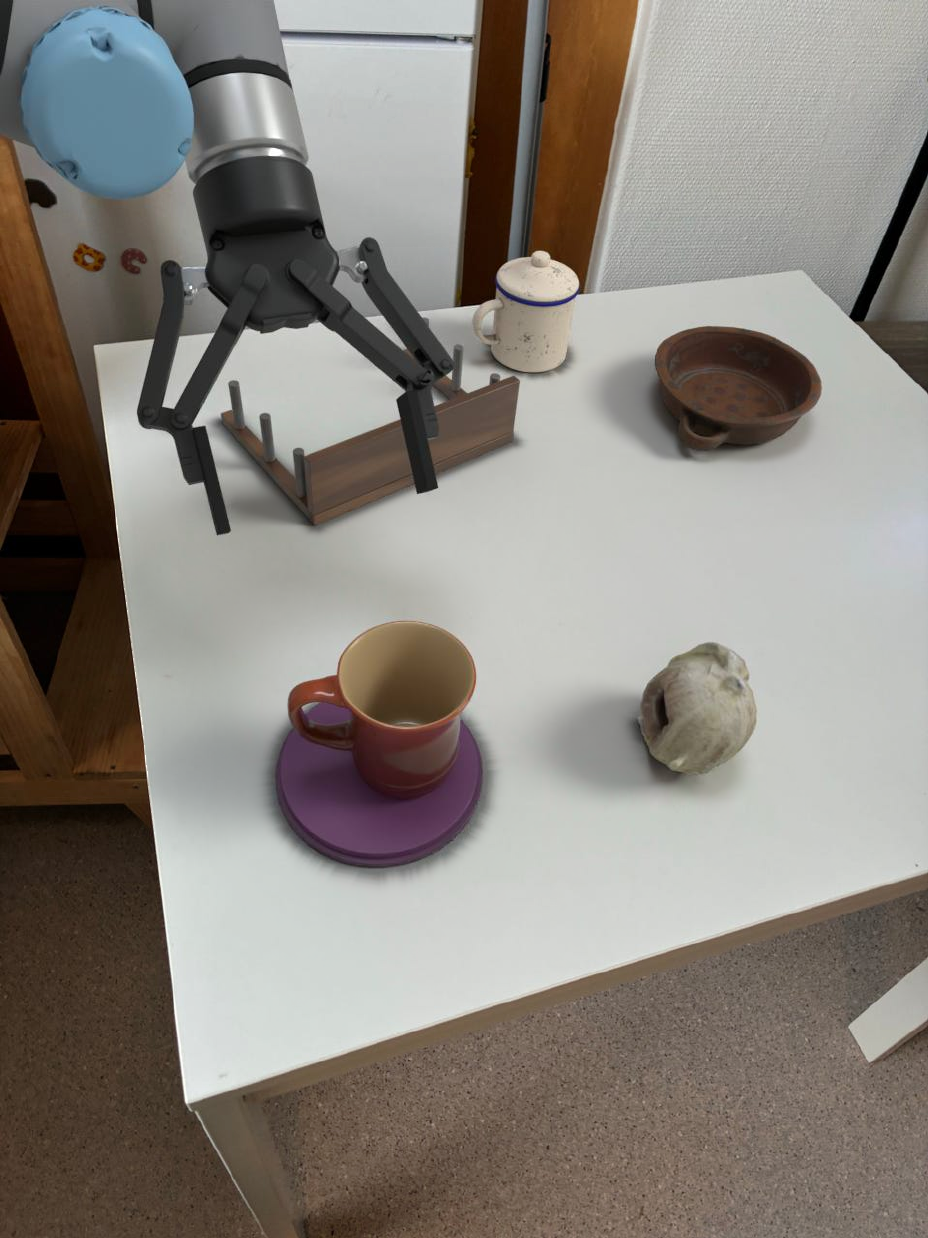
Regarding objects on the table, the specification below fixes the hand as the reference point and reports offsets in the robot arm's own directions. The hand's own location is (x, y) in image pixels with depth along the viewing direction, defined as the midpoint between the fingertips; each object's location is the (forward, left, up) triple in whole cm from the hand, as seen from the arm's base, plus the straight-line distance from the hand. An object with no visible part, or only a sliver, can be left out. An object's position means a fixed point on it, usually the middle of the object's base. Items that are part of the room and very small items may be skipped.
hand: (329, 512), depth 58 cm
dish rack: (-24, +19, -17) cm, 35 cm away
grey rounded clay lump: (+21, +18, -17) cm, 32 cm away
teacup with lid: (-27, +41, -17) cm, 52 cm away
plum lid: (+10, -2, -17) cm, 19 cm away
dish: (-7, +54, -17) cm, 57 cm away
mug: (+10, -2, -16) cm, 18 cm away
